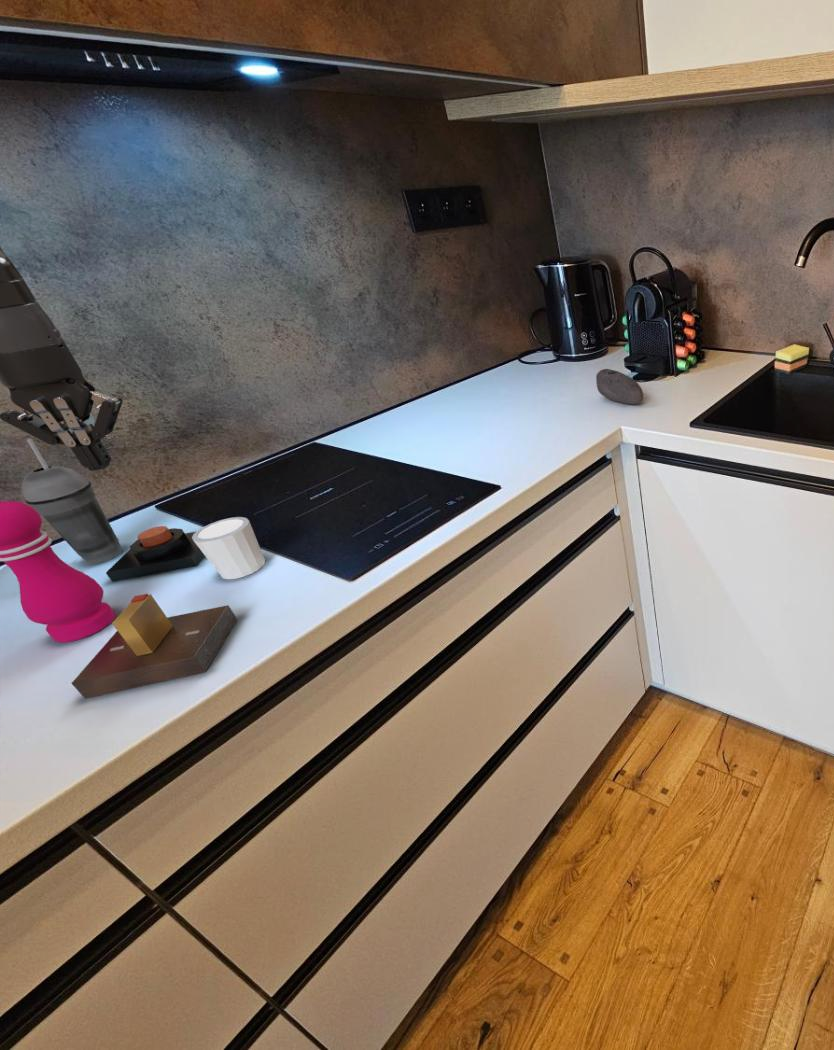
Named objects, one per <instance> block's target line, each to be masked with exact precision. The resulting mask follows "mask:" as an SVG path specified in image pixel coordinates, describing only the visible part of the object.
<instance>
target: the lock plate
mask: <svg viewBox="0 0 834 1050" xmlns="http://www.w3.org/2000/svg"><path fill="white" fill-rule="evenodd" d="M166 617H167V616H166ZM167 618H168V620H169V621H170V622H171V624H172V625H173V627H172V628H171V629H170V631H169V632H168V633H167V635H166V636H165V637H164V639H163V640H162V641H161V643H160V644H159V645H158V647H157V648H156V649H155V650H154V652H153V653H149V654H145V655H140V656H137V655H136V654H135V653H134V651H133V650H132V649H131V648H130V646H129V645H128V644H127V642H126V641H125V640H124V638H123V637H122V636H121V634H120V633H119V632H118V630H117V629H116V631H115V632H114V634H113V635H112V636H111V637H109V638H110V639H108V640H107V642H106V643H105V644H104V645H103V646H102V648H101V649H100V650H99V651H98V652H97V653H96V654H95V655H94V657H93V658H92V659H91V660H89V662H88V663H87V665H85V667H84V668H83V669H82V670H81V672H80V673H79V674H78V675H77V676H76V678H75V679H74V680H73V681H72V682H71V684H72V686H73V687H74V688H75V690H77V692H78V693H79V694H80V695H81V696H82V698H83V699H90V698H95V697H100V696H104V695H108V694H113V693H118V692H122V691H126V690H131V689H134V688H135V689H136V688H141V687H144V686H149V685H153V684H158V683H164V682H167V681H171V680H177V679H181V678H186V677H189V676H194V675H198V674H199V675H200V674H204V673H206V672H207V671H208V669H209V667H210V665H212V663H213V660H214V659H215V657H216V655H217V654H218V652H219V651H220V650H221V648H222V646H223V644H224V642H225V641H226V639H227V638H228V636H229V635H230V632H231V631H232V630H233V628H234V626H235V625H236V623H237V622H238V618H237V617H236V614H235V613H234V612H233V610H232V608H231V606H230V605H228V604H227V605H222V606H217V607H211V608H207V609H202V610H197V611H191V612H187V613H183V614H177V615H173V616H168V617H167Z"/></svg>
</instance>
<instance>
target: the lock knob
mask: <svg viewBox="0 0 834 1050" xmlns="http://www.w3.org/2000/svg"><path fill="white" fill-rule="evenodd" d="M111 624H112V625H113V627H114V628H115V629H116V631H117V630H118V632H119V633H120V634H121V636H122V637H123V638H124V640H125V641H126V642H127V644H128V645H129V646H130V648H131V649H132V650H133V651H134V653H135V654H136V655H137V656H140V655H145V654H149V653H153V652H154V650H155V649H156V648H157V647H158V645H159V644H160V643H161V641H162V640H163V639H164V637H165V636H166V635H167V633H168V632H169V631H170V629H171V628H172V627H173V625H172V624H171V622H170V621H169V620H168V618H167V615H166V614H165V612H164V611H163V609H162V608H161V607H160V605H159V603H158V602H157V601H156V599H155V598H154V597H153V594H150V593H149V594H148V593H144V594H138V595H134V596H133V597H132V598H131V600H130V603H129V604H128V605H126V607H125V608H124V609H123V610H122V611H121V612H120V613H119V615H118V616H117V617H115V618H114V620H113V621H112V622H111Z"/></svg>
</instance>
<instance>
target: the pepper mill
mask: <svg viewBox="0 0 834 1050" xmlns="http://www.w3.org/2000/svg"><path fill="white" fill-rule="evenodd" d="M42 524H43V519H42V517H41V514H39V513H38V512H37V511H36V510H35V509H33V508H32V507H31V506H30V505H29V504H27V503H25V502H20V501H14V500H1V501H0V562H3V563H4V564H6V566H7V567H8V568H9V569H10V570H11V571H12V573H13V574H14V576H15V577H16V579H17V581H18V586H19V599H20V600H19V601H20V606H21V609H22V611H23V613H24V614H25V616H26V617H27V619H28V620H29V621H31V622H32V623H35V624H40V625H45V626H46V627H45V632H46V633H47V634H48V635H49V637H51V639H52V640H53V641H54V642H56V643H70V642H71V643H72V642H75V641H78V640H81V639H84V638H87V637H89V636H92V635H93V634H96V633H98V632H100V631H101V630H103V629H105V628H106V627H107V626H109V625H110V624H112V622H113V621H114V620H115V619H116V612H115V611H114V610H113V609H112V607H111V606H110V605H109V603H107V602H104V601H102V600H103V598H104V593H105V591H104V588H103V587H102V586H101V585H100V584H99V583H98V581H97V580H95V579H94V578H93V577H91V576H90V575H88V574H86V573H84V572H82V571H80V570H78V569H76V568H75V567H73V566H71V565H69V564H68V563H66V562H65V561H63V560H62V559H61V558H60V557H59V556H58V555H57V554H56V553H55V551H54V550H53V548H52V546H51V544H52V542H53V539H51V537H49V536H48V533H47V532H46V531H44V530H41V528H42Z"/></svg>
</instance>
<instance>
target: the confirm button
mask: <svg viewBox="0 0 834 1050" xmlns="http://www.w3.org/2000/svg"><path fill="white" fill-rule="evenodd" d="M168 529H169V528H168V527H167V526H166V525H158V526H154V527H150V528H148V529H145V530H143V531H141V532H140V533H139V534H138V535H137V540H138V539H139V540H140V542H141V543H142V545H143V546H144V547H150V546H155V545H158V544H161V543H164V542H166V541H167V540H169V539H171V538H172V537H173V536H172V534H171V533H170V531H169V530H168Z"/></svg>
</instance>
